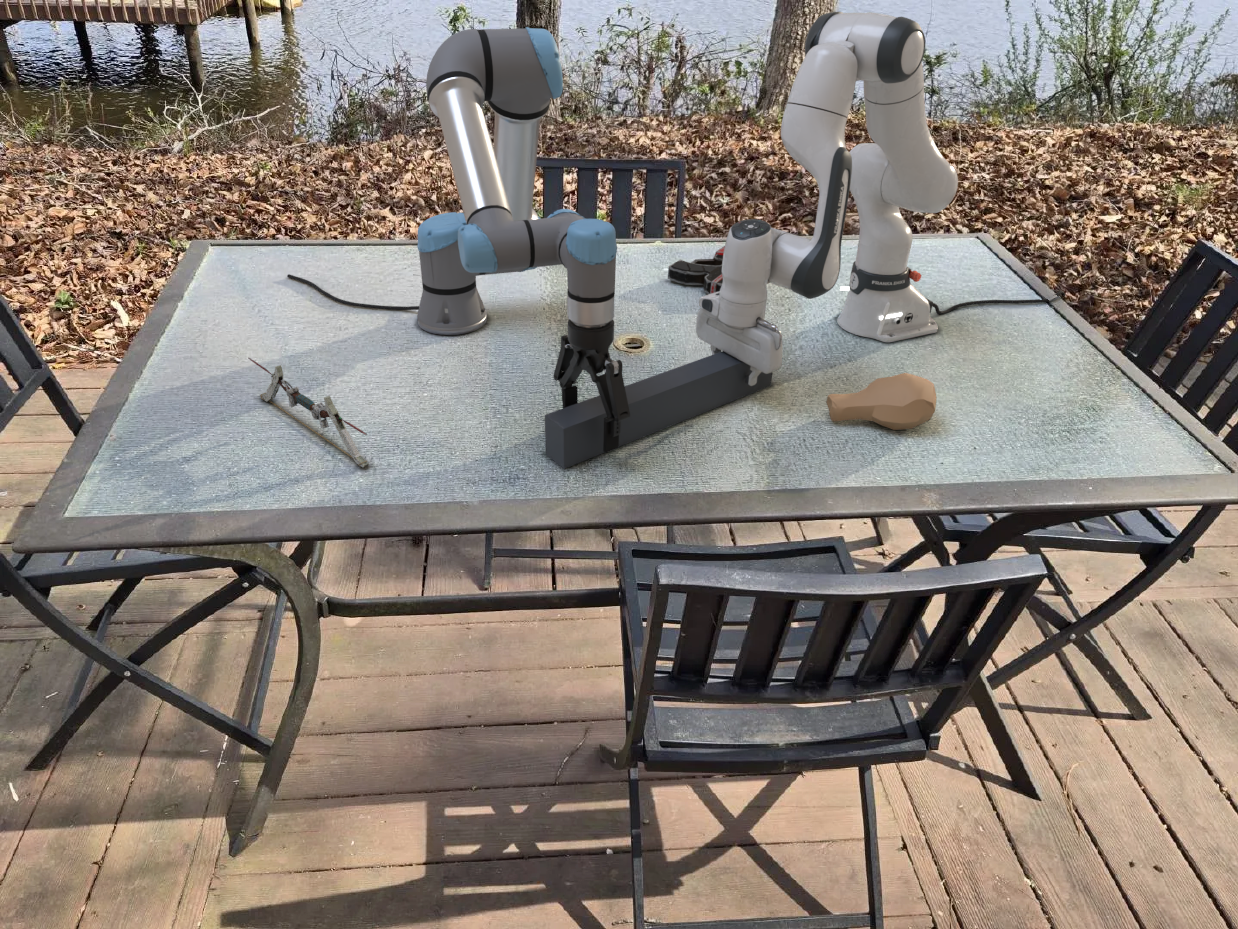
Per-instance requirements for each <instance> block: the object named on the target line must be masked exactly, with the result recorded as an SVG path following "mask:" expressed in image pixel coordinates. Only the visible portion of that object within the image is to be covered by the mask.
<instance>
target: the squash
mask: <svg viewBox="0 0 1238 929" xmlns="http://www.w3.org/2000/svg"><path fill="white" fill-rule="evenodd" d="M937 398H938V397H937V393H936V387H935V384H934V383H933V382H932V381H930V380H929V379H927V378H925V377H922V376H918V375H916V374H913V373H908V372H903V373H899V374H895V375H891V376H884V377H877V378H876V379H874V380H873V381H871V382H870V383H869V384H868V385H867V386H866V387H865V388H863V389H861V390H859V391H858V392H851V393H850V392H849V393H830V394H828V395H827V397H826V401H825V405H827V409H828V413H829V414H828V415H829V418H830V421H831V422H841V421H842V422H843V421H852V420H854V421H855V420H863V421H869V422H874V423H876V424H878V425H879V426H883V427H885V428H888V429H890V430H893V431H900V430H912V429H914V428H916V427H919V426H921V425H922V424H924V423H927V422H928V421H930V420H931V419H932V418H933V416H934V414H935V412H936V406H937Z"/></svg>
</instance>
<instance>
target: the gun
mask: <svg viewBox="0 0 1238 929" xmlns="http://www.w3.org/2000/svg"><path fill="white" fill-rule="evenodd" d="M724 248H725V245H723V246H722V247H721V248H719V249H717V250H716V251H715V253H714V255H713V258H696V259H695V258H694V260H692V261H691V262H689V261H687V260H683V259H678V260H676V261H675V262H673V263H671V264H670V265H668V270H667V271H668V272H667V279H668V280H670V281H672V282H674V283H678V284H681V285H685V286H686V285H688V286H703V291H704V293H705V294H706V295H708V294H711V293H715V292H718V291H720V288H721V286H722V283H723V276H722V261H723V254H724Z"/></svg>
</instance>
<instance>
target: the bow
mask: <svg viewBox="0 0 1238 929" xmlns="http://www.w3.org/2000/svg"><path fill="white" fill-rule="evenodd" d="M247 358H248V359H249V360H250V361H251V362H252V363H253V364H255V365H256V366H257V367H259V368H260V369H262V370H263V371H265V372H266V373H268V374H269V375H271V379H270V380H271V381H270V384H269V385H268V387H267V389H266V392H262V393H260V394H259V397H260V399H261V400H262V401H264V402H269V403H271V404H272V405H274V406H276V407H277V408H278V409H280V410H281V411H283V412H284V413H286V414H287V415H288V416H290V417H291V418H293V419H294V420H296V421H297V422H298V423H300V424H302V425H303V426H305V427H306V428H308V429H309V430H311V431H312V432H313V433H315V434H316V435H318V436H319V437H320V438H323V440H324V441H327V442H328V443H330V444H331V445H332V446H334V447H335V448H337V449H338V450H339V451H341V452H343V453H344V454H345V455H347V456H348V457H350V458H351V459H353V461H354V462H355V463H356V465H357V466H359V467H360V468H365V466H370V463H369V462H368V460H366V459H365V458H364V457H363V456H362V454H361V453H360V451H359V449H358V448H357V445H356V444H355V441H354V440H353V438H352V436H351V435H350V433H349V431H348V430H347V426H346V425H348V426H350V427H351V428H353V429H354V430H356V431H357V432H359V433H361V434H363V435H365V436H368V433H366V432H365V431H363V430H362V429H360V428H359V427H357V426H356V425H354V424H352V423H350V422H349V421H347V420H344V419H343V417H342V416H341V414H340V413H339V411H338V409H337V408H336V406H335V404H334V402H333V400H332V397H331V396H330V395H327V396H324V397H323V402H324V403H323V402H322V401H321V402H318V403H316V404H315V402H314V401H313V400H312V399H311V398H309V397H307V395H304V394H301V392H300V389H299V386H293V385H292V384H290V383H289V381H287V380H285V379H284V372H283V367H282V365H281V364H279V365H276V366H275V367H274V372H273V373H271V372H270V371H269V370H268V369H267V368H265V367H264V366H263V365H262V364H260V363H259V362H257V361H256V360H254V359H252V358H251V357H249V356H248V357H247ZM280 387H281V388H282V389H283V390H284V392H285V393H286V396H287V398H288V406H289V407H290V408H291V409H293V408H294V407H298V405H300V406H301V407H303V408H305V409H306V410H307V411H309V412H311V416H312V418H313V419H314V420H317V421H319V425H320V428H321V429H322V430H324V429H326V428H329V427H330V426H329V422H328V420H327V418H330V420H331V421H332V423H333V425H334V427H335V429H336V431H337V432H338V435H339V437H340V439H341V441H342V443H343V444H344V445H345V447H346V448H345V449H347V452H346V451H345V450H344V449H342V448H340V447H339V446H338V445H336V444H335V443H333V442H332V441H330V440H328V439H327V438H326V437H324V436H323V435H321V434H320V433H319V432H317V431H316V430H314V429H312V428H311V427H310V426H308V425H307V424H305V423H304V422H302V421H301V420H299V419H297V417H295V416H293V414H291V413H289V412H288V411H286V410H285V409H283V408H282V407H281V406H279V405H278V404H276V403H274V402H273V401H272V400H274V399H275V398H276V396H277V394H278V392H279V390H280ZM344 423H345V424H346V425H345V424H344Z"/></svg>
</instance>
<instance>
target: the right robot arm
mask: <svg viewBox="0 0 1238 929" xmlns="http://www.w3.org/2000/svg"><path fill="white" fill-rule="evenodd" d="M925 52H926V36H925V33H924V31H923V29H922V27H921V25H920V24H919V23H918V22H916V21H915V20H913V19H911V18H908V17H905V16H894V15H889V14H885V13H878V12H871V11H869V12H843V11H831V12H826V13H823V14H821V15H820V16H818V18H816V20H815V21H814V22H813V23H812V25H811V26H810V28H808V31H807V34H806V37H805V43H804V55H805V56H804V59H803V60H802V62H801V64H800V66H799V69H798V71H797V74H796V76H795V79H794V81H793V84H792V86H791V89H790V91H789V95H788V98H787V102H786V105H785V109H784V112H783V115H782V120H781V126H780V138H781V142H782V145H783V146H784V148H785V151H786V152H787V153H788V154H789V155H790V157H791V158H792V159H793V160H794V161H795V162H796V163H798V164H799V165H800V166H801V167H802V168H804V170H806V171H807V172H809V173H810V175H811V176H812V177H813V178H814V180H815V181H816V183H817V186H818V191H819V194H818V202H817V209H816V214H815V215H816V216H815V223H814V229H813V235H812V238H807V237H803V236H800V235H797V234H794V233H791V232H788V231H785V230H781V229H777V228H774V227H772V225H771V224H769V222H767V221H765V220H763V219H758V218H748V219H743V220H739V221H737V222H735V223H734V224H733V225H732V226H730V228H729V230H728V233H727V236H726V240H725V244H724V246H725V248H724V254H723V261H722V276H723V283H722V286H721V288H720V291H718V292H715V293H711V294H706V295H702V296H700V297H699V299H698V307H699V309H698V311H697V313H696V314H697V315H696V323H695V333H696V336H697V338H698V339H700V341H702V342H705V343H707V344H709V345H710V352H711V355H714V354H717V353H719V352H722V351H723V352H725V353H727V354H729V355H731V356H733V357H735V358H737V359H739V360H741V361H742V362H744V363H746V364H748V365H750V366H751V368H750V370H751V371H752V373H751V374H749V375H746V376H745V379H746V380H745V383H746V384H748V385H750V386H753V385H755V384H756V383H757V376H758V375H759V374H760V373H761V372H763V373H765V374H769V373H771V372H773V373H774V372H777V371H778V370H780V369H781V367H782V364H783V334H782V332H781V330H780V329H779V328H778V327H779V326H778V325H776V324H774V323H771V322H769V321H768V320H766V310H767V302H768V288H767V285H768V284H771V285H775V286H778V287H780V288H783V289H787V290H789V291H792V292H793V293H795V294H798V295H799V296H802V297H803V298H806V299H807V300H808V299H809V300H813V299H815V298H818V297H821V296H823V295H825V294H826V293H828V292H829V291H831V290H833V288H834V287H835V285H836V283H837V281H838V279H839V275H840V272H841V264H842V263H841V262H842V260H841V259H842V243H843V242H842V241H843V234H844V228H845V223H846V222H845V221H846V217H847V216H846V215H847V208H848V203H849V202H848V201H849V196H850V193H851V196H852V198H853V201H854V203H855V207H856V210H857V214H858V223H859V232H858V233H859V235H858V242H857V250H856V254H855V255H856V256H855V260H854V261H853V263H852V267H851V271H850V277H849V283H848V284H849V285H848V286H840V289H839V291H847V294H846V299H845V302H844V304H843V306H842V309H841V311H840V313H839V315H838V317H837V319H836V321H837V324H838V326H839V327H840V328H841V329H842V330H844V331H845V332H848V333H850V334H853V335H856V336H859V337H863V338H864V337H865V338H870V339H874V340H877V341H879V342H883V343H893V342H897V341H903V340H907V339H913V338H916V337H917V338H918V337H922V336H926V335H931V334H935V333H937V332H938V330H939V329H938V328H939V327H938V323H937V322H936V320H935V319H934V318H933V317H931V312H932V309H933V308H934V310H935V313H936V314H937V315H946V314H948V313H950V312H953V311H954V310H956V309H958V308H963V307H967V306H975V305H986V304H987V305H988V304H1009V305H1010V304H1017V305H1018V304H1041V303H1048V302H1050V301H1049V300H1048V299H1046V298H1042V299H1043V300H1040V299H1041V298H1039V299H985V300H971V301H966V302H961V303H957V304H954V305H953V306H951V307H949V308H947V309H946V310H940V307H939V305H938V304H937V303H935V302H933V301H932V300H931V299H928V298H927V297H925V295H924V294H922V293H921V292H920V290H918V289H917V287H915V286H914V285H913V284H912V283H911V280H912V281H913V282H914V283H919V282H920V280H922V274H921V273H920V272H918V271H917V270H912V269H911V268H910V267H909V266H908V263H909V258H910V255H911V250H912V244H913V240H914V239H913V237H914V236H913V232H912V229H911V227H910V225H909V224H908V223H907V222H906V221H905V218H903V216H902V214H901V213H902V212H901V210H900V208H901V209H904V210H907V211H911V212H915V213H922V214H923V213H924V214H937V213H940V212H942V211H943V210H944V209H946V208H947V207H948V206H949V205H950V204H951V203H952V201H953V200H954V198H955V196H956V194H957V191H958V187H959V179H958V178H959V177H958V173H957V170H956V168H955V167H954V166H953V165H952V164H951V163H950V162H948V160H946V158H945V157H944V156H943V154H942V153H941V151H940V150H939V149H938V146H937V145H936V143H935V141H934V139H933V137H932V135H931V131H930V129H929V126H928V122H927V115H926V104H925V81H924V80H925V77H924V67H923V59H924V57H925V56H924V55H925ZM859 81H862V82H863V99H864V100H863V101H864V112H865V124H866V126H865V127H866V130H867V134H868V135H869V137H870V139H871V140H872V141H873V142H862V143H858V144H856V145H855V146H854V147H853V148H852V149H851V150H850V151H849V150H848V149H847V147H846V138H845V137H846V136H845V133H846V125H847V121H848V117H849V115H850V111H851V107H852V104H853V99H854V93H855V89H856V82H859ZM1054 295H1057V296H1058V297H1059V296H1061V297H1066V293H1065V292H1064V291H1063V290H1059V291H1057V292H1056V293H1055V294H1054Z"/></svg>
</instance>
